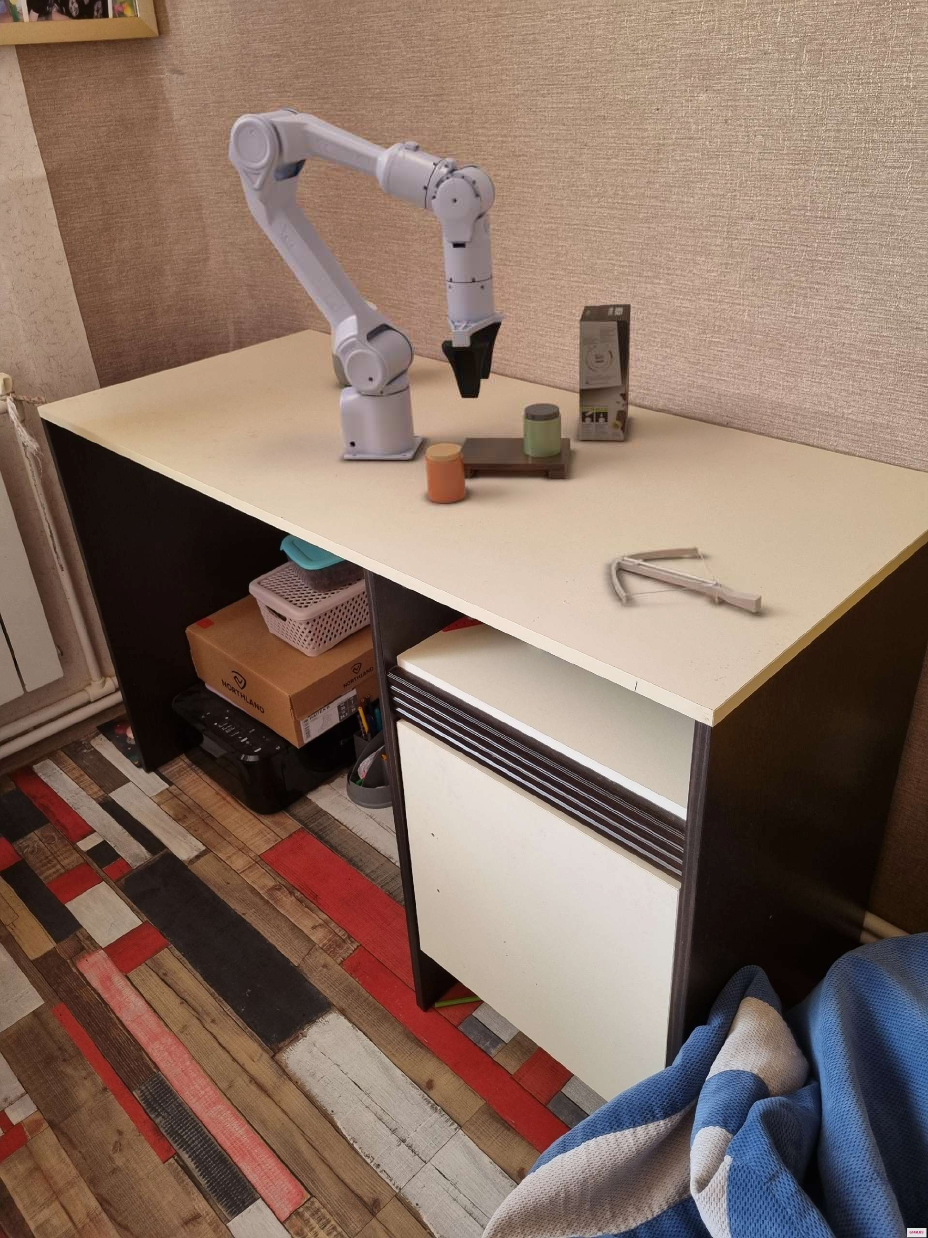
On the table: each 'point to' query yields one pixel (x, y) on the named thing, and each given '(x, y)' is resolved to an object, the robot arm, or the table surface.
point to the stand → (511, 456)
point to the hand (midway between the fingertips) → (475, 387)
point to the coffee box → (604, 372)
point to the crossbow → (680, 577)
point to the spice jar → (445, 473)
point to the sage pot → (542, 430)
